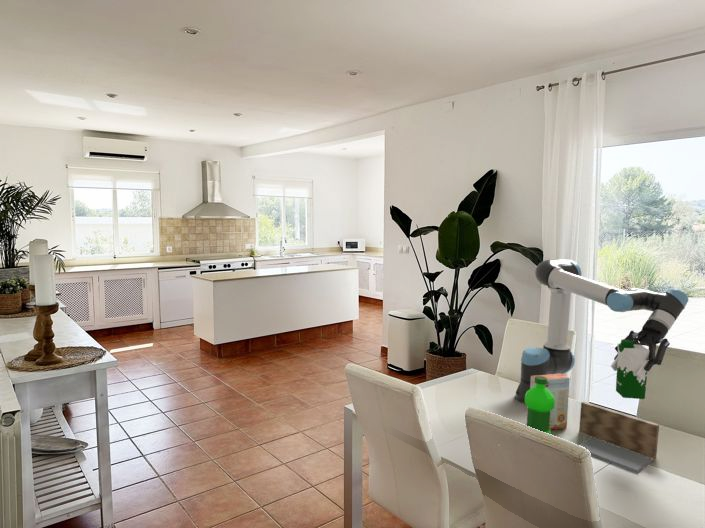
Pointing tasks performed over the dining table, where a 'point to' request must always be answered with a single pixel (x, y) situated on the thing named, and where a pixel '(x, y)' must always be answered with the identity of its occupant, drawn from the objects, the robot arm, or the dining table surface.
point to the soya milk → (631, 369)
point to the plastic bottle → (539, 405)
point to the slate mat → (616, 455)
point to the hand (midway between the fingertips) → (625, 372)
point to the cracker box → (557, 398)
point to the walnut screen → (619, 429)
